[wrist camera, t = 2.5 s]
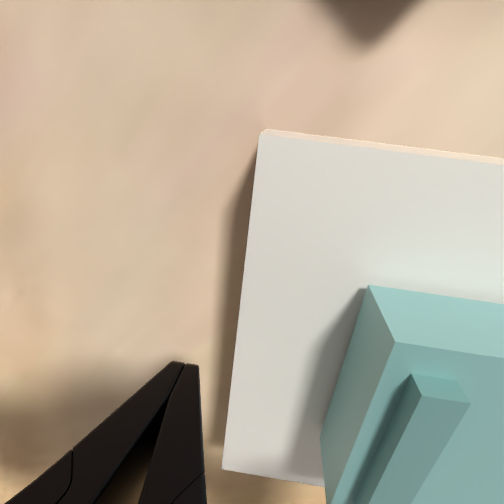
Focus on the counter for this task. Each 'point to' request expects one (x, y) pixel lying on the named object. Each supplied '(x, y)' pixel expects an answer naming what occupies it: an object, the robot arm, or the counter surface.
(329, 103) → the counter surface
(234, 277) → the counter surface
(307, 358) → the socket plate
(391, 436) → the block
